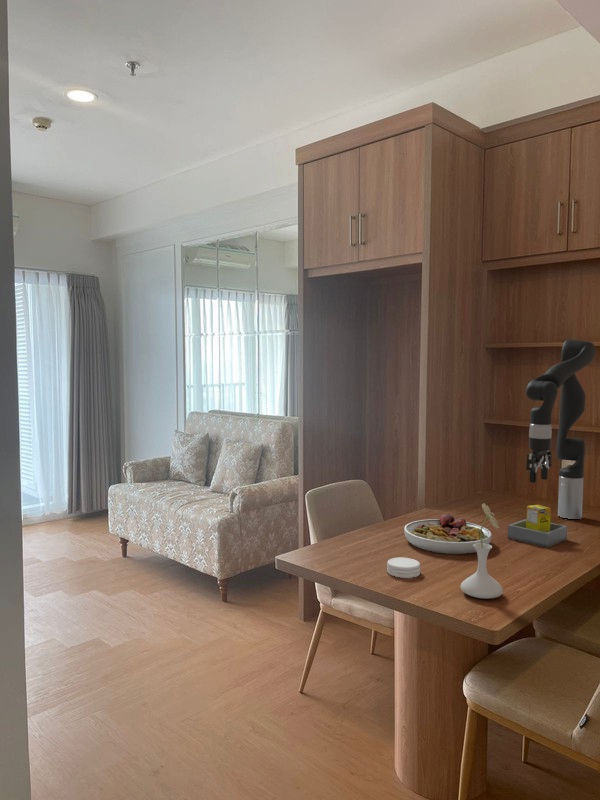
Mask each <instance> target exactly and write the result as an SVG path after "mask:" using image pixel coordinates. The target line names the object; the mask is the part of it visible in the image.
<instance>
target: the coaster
mask: <svg viewBox="0 0 600 800" xmlns="http://www.w3.org/2000/svg"><path fill="white" fill-rule="evenodd" d="M386 564H387V566H386V568H387V569H386V571H387V574H388V575H390V576H392V577H394V576H395V578H399V577H400V579H413V577H414V578H417V577H419V576H420V574H421V563H420V562H419V560H416V559H413V558H410V557H403V556H402V557H393V558H389V559H388V560H387V563H386Z"/></svg>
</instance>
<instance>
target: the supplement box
mask: <svg viewBox="0 0 600 800" xmlns="http://www.w3.org/2000/svg"><path fill="white" fill-rule="evenodd" d="M551 511H552V510H551V507H548V506H544V505H541V504H532V505H527V506H526V518H525V519H526V528H527V529H532V530H536V531H541V532H545V533H547V532H550V523H551V515H552V514H551Z"/></svg>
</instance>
